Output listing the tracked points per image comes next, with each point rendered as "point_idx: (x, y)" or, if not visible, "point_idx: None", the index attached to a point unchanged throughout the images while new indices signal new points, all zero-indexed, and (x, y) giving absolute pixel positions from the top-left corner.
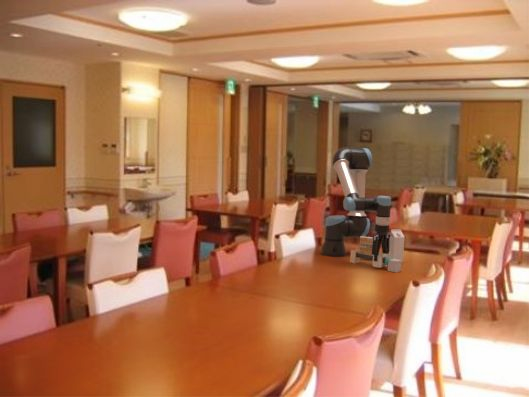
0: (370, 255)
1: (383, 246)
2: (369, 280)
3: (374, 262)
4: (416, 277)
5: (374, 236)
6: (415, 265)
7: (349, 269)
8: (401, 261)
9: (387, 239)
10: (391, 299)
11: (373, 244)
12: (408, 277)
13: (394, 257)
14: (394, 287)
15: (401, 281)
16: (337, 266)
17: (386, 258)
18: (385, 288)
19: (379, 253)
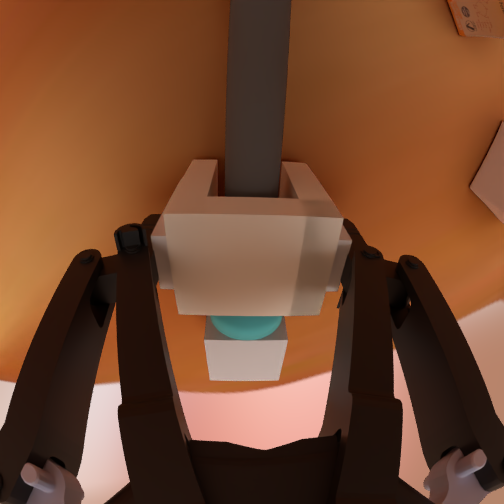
0: (477, 19)
1: (344, 345)
2: (4, 307)
3: None
4: (214, 387)
5: (4, 499)
6: (463, 288)
7: (12, 111)
8: (499, 219)
9: (431, 443)
10: (6, 380)
11: (34, 369)
12: (182, 375)
13: (496, 209)
14: None
15: (105, 375)
16: (19, 10)
17: (221, 322)
18: (19, 361)
19: (259, 255)
